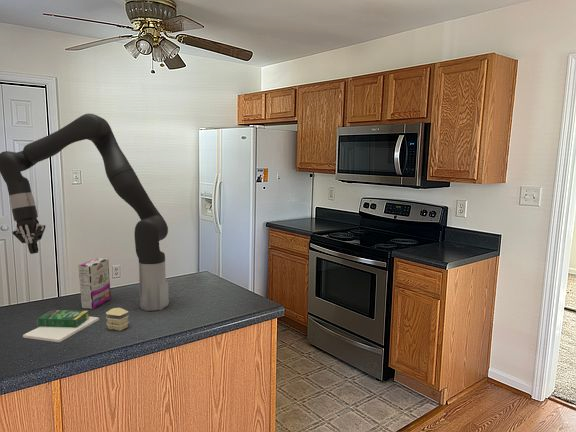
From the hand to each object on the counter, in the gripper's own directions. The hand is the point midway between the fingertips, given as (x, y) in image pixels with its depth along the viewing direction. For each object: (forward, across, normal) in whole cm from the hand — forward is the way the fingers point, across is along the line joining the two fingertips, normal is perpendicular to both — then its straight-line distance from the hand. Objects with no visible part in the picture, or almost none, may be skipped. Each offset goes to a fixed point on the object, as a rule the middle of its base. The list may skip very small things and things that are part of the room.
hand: (34, 253), depth 154 cm
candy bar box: (+23, -15, -7) cm, 29 cm away
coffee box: (+21, -11, +14) cm, 27 cm away
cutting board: (+25, -19, +15) cm, 35 cm away
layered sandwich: (+29, -34, +10) cm, 46 cm away
